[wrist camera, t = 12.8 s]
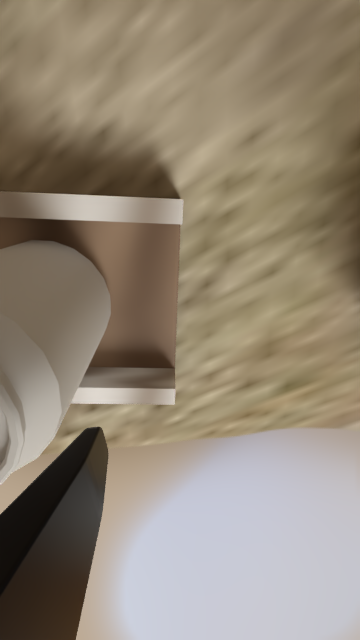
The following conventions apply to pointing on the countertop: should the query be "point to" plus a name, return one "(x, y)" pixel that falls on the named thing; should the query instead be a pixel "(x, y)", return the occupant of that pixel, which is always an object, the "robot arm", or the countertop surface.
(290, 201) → the countertop surface
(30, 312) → the can
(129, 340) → the floor track
